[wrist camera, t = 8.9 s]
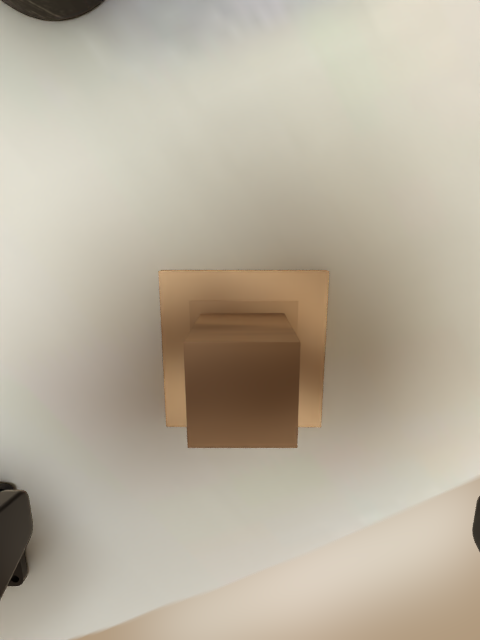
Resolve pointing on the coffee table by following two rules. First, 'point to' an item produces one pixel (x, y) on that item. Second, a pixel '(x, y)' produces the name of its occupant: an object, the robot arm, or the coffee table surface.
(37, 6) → the travel mug
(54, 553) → the coffee table surface
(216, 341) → the walnut block
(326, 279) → the cork pad
